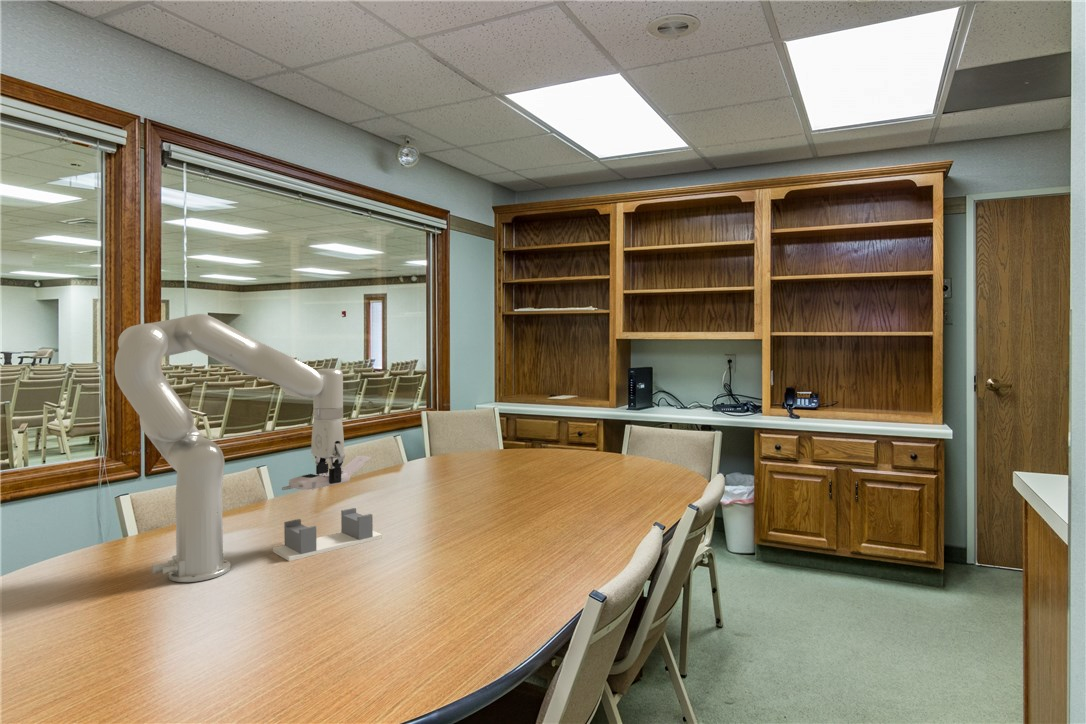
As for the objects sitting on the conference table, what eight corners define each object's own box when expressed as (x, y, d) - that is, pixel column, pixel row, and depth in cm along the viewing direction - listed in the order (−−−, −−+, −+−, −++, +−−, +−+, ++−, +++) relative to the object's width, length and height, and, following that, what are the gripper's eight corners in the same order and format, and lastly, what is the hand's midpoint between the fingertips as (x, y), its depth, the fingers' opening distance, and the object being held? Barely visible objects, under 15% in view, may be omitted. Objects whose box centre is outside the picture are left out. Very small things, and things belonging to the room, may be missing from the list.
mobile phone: (373, 456, 172) (294, 470, 151) (373, 477, 172) (294, 494, 151) (358, 455, 175) (280, 468, 154) (359, 475, 175) (280, 491, 154)
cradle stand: (289, 561, 150) (289, 532, 150) (273, 551, 157) (272, 524, 157) (382, 538, 169) (382, 512, 169) (364, 530, 176) (363, 505, 176)
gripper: (300, 413, 166) (300, 478, 166) (330, 418, 154) (330, 488, 154) (326, 411, 171) (326, 474, 172) (357, 416, 159) (357, 483, 159)
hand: (328, 480), depth 163 cm, fingers closed on mobile phone, 6 cm apart
